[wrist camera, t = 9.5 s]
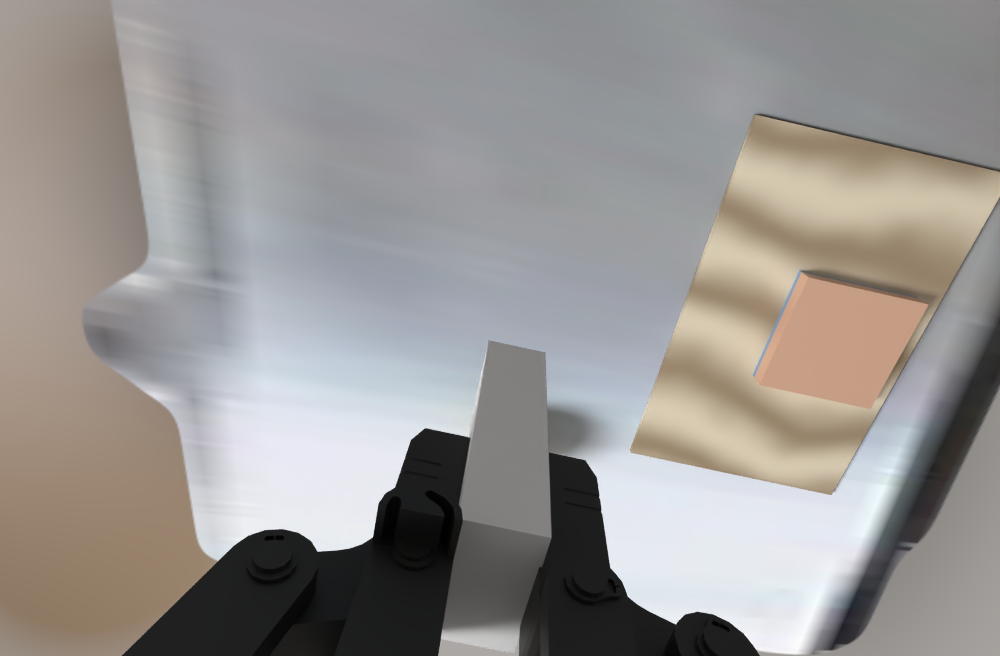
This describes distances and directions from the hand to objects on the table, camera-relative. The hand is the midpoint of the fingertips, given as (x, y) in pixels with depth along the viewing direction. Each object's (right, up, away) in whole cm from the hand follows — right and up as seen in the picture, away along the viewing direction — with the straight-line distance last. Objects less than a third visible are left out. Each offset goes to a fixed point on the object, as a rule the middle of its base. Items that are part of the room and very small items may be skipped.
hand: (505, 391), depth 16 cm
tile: (+21, +2, +29) cm, 36 cm away
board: (+23, +2, +30) cm, 38 cm away
